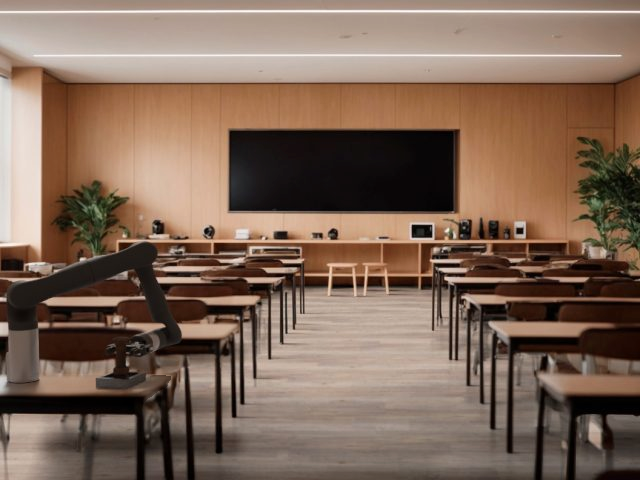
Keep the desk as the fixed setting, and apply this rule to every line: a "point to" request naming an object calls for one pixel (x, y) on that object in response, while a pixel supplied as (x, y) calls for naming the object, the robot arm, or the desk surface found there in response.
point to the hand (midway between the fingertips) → (118, 352)
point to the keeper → (120, 380)
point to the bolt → (121, 356)
